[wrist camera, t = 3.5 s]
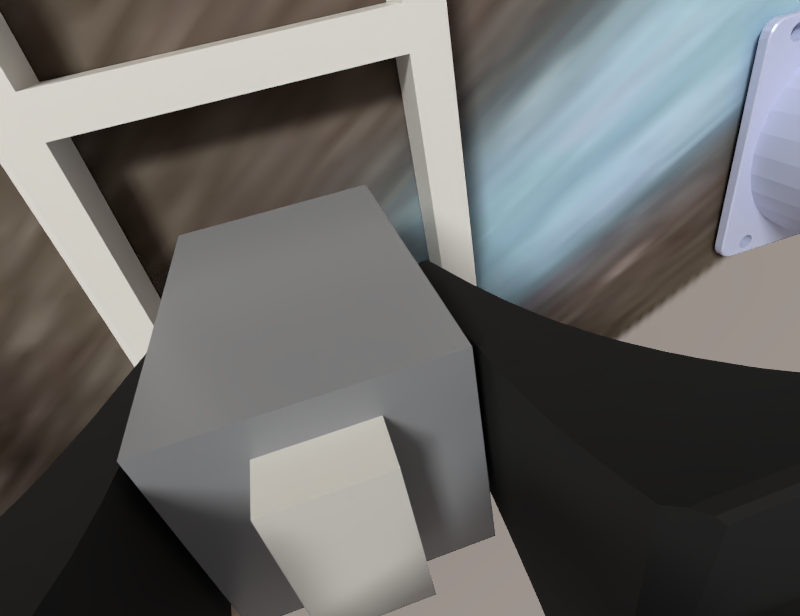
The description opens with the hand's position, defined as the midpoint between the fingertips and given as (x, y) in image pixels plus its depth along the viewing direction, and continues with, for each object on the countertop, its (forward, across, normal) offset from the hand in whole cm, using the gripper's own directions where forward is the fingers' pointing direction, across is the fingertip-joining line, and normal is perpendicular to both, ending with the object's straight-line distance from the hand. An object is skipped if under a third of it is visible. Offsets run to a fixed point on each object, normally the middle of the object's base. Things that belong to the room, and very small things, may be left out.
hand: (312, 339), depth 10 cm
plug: (+2, 0, 0) cm, 2 cm away
